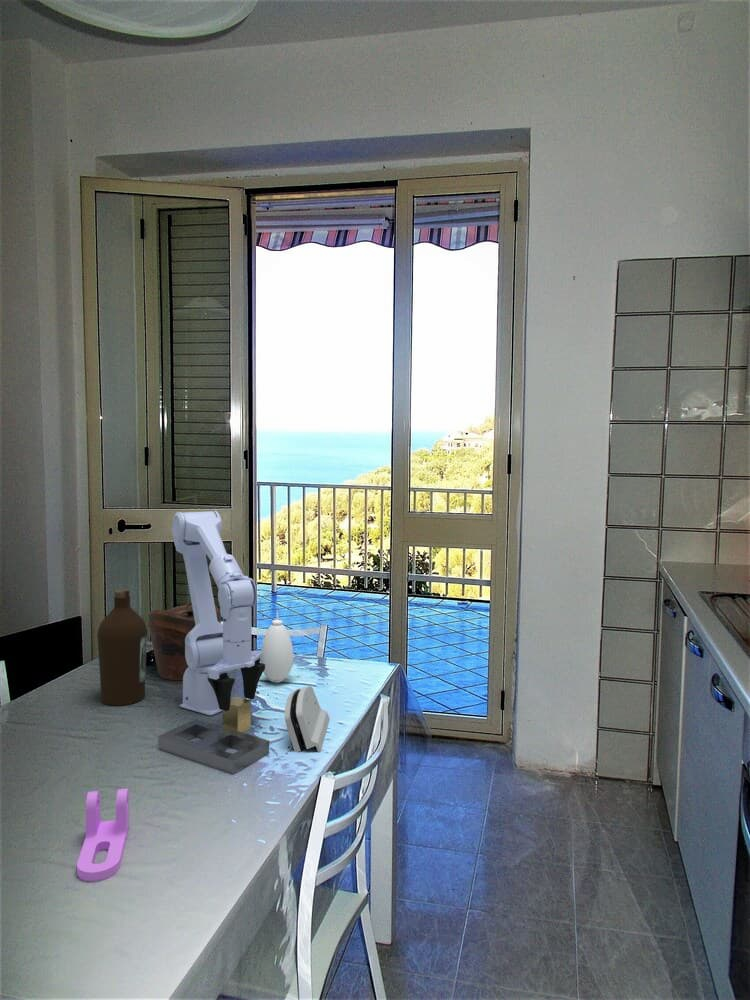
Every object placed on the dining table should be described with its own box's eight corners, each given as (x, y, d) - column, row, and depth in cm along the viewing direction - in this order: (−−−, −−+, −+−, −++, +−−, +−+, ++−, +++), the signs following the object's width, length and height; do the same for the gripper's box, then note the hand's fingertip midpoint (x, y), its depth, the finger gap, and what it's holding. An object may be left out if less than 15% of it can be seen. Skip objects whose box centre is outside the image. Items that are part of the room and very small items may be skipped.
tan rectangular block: (222, 730, 143) (222, 702, 142) (236, 724, 146) (236, 696, 146) (237, 735, 141) (237, 706, 140) (250, 728, 144) (250, 700, 144)
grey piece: (320, 753, 133) (303, 704, 133) (297, 760, 134) (280, 712, 133) (329, 718, 150) (314, 675, 149) (309, 725, 150) (294, 682, 150)
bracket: (90, 831, 106) (90, 787, 105) (129, 827, 107) (129, 783, 106) (73, 884, 93) (72, 834, 92) (117, 879, 94) (117, 830, 94)
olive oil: (96, 709, 153) (94, 596, 151) (99, 692, 163) (98, 586, 161) (147, 704, 156) (146, 594, 154) (147, 688, 166) (147, 584, 164)
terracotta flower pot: (221, 657, 190) (220, 593, 188) (221, 683, 171) (220, 611, 169) (153, 661, 186) (151, 595, 185) (145, 688, 167) (143, 615, 165)
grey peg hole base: (158, 748, 134) (158, 736, 134) (196, 730, 142) (195, 718, 142) (233, 774, 124) (233, 760, 124) (269, 753, 133) (269, 740, 133)
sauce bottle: (254, 681, 172) (254, 610, 170) (278, 674, 178) (278, 604, 176) (275, 689, 167) (275, 615, 165) (299, 681, 173) (300, 610, 171)
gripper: (227, 650, 134) (227, 719, 135) (275, 633, 146) (274, 696, 147) (200, 644, 137) (200, 711, 138) (249, 628, 150) (248, 690, 151)
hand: (237, 703), depth 143 cm, fingers open, 7 cm apart
